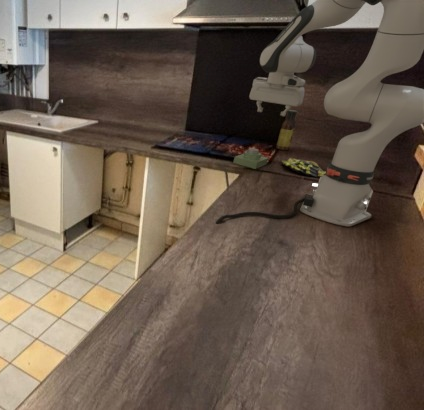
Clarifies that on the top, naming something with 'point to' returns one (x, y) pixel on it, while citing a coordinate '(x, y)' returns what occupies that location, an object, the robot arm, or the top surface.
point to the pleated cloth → (304, 167)
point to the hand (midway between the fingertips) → (270, 113)
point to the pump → (253, 151)
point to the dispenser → (251, 160)
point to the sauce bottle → (287, 131)
